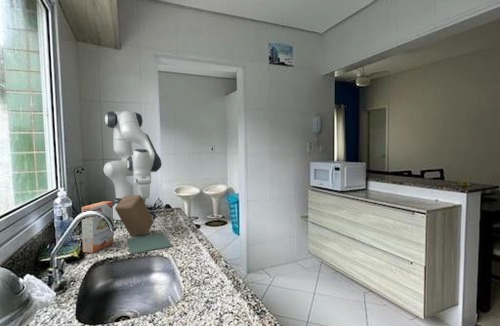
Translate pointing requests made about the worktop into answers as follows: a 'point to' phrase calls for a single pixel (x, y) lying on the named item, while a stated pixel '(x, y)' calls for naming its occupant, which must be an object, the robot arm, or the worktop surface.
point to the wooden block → (134, 215)
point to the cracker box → (97, 228)
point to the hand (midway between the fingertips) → (143, 204)
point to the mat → (148, 243)
